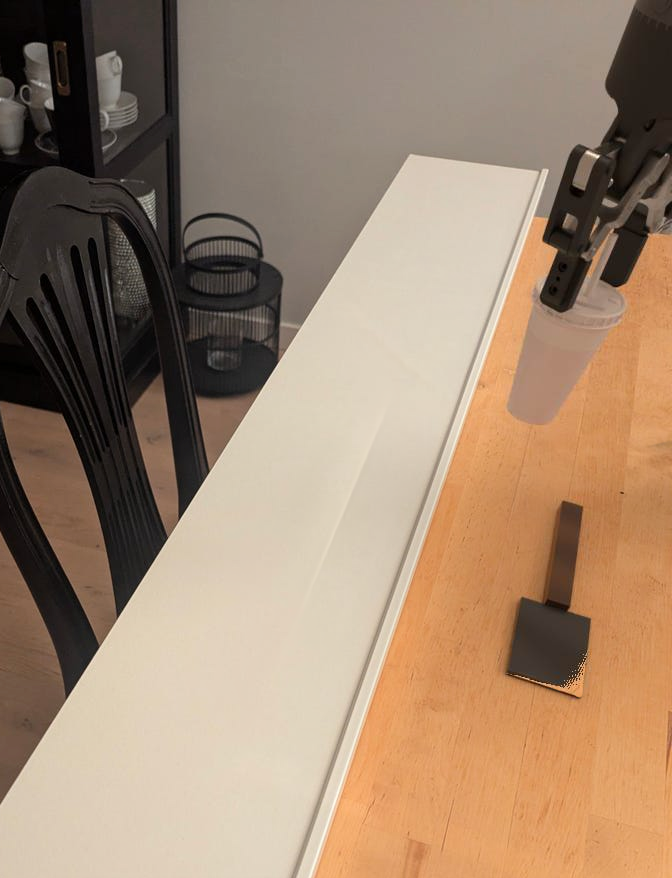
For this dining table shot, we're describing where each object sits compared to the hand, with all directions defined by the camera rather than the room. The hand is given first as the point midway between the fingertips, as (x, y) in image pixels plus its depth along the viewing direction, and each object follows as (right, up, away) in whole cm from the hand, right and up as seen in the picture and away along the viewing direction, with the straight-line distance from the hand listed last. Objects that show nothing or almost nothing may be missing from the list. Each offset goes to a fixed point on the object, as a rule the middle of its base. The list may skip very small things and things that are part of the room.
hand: (582, 293), depth 63 cm
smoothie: (-1, -6, +7) cm, 10 cm away
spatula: (+5, -20, +17) cm, 27 cm away
